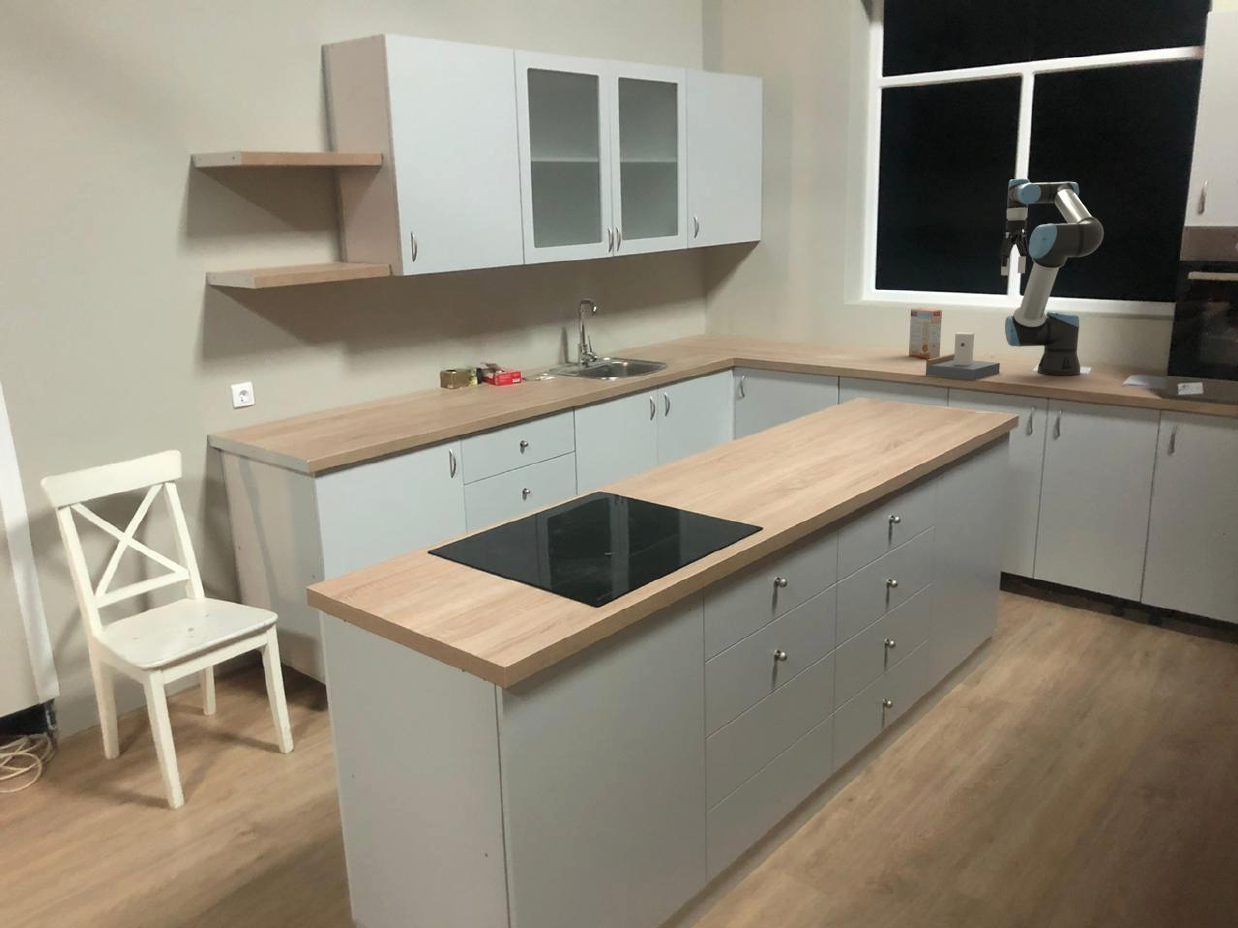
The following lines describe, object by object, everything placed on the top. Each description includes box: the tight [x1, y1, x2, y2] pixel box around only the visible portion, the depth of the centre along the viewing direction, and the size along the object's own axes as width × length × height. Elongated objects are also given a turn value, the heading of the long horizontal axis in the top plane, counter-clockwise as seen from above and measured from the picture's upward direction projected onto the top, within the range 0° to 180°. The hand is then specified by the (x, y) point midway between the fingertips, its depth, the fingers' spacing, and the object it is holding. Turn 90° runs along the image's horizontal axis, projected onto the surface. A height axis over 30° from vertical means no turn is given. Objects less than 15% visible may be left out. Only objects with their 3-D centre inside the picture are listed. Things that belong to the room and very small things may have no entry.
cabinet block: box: [953, 331, 975, 365], centre depth 381 cm, size 6×7×12 cm
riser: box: [925, 353, 1001, 381], centre depth 383 cm, size 20×20×6 cm
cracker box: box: [908, 307, 943, 360], centre depth 426 cm, size 14×6×21 cm, turn 22°
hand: (1013, 274), depth 392 cm, fingers open, 13 cm apart
